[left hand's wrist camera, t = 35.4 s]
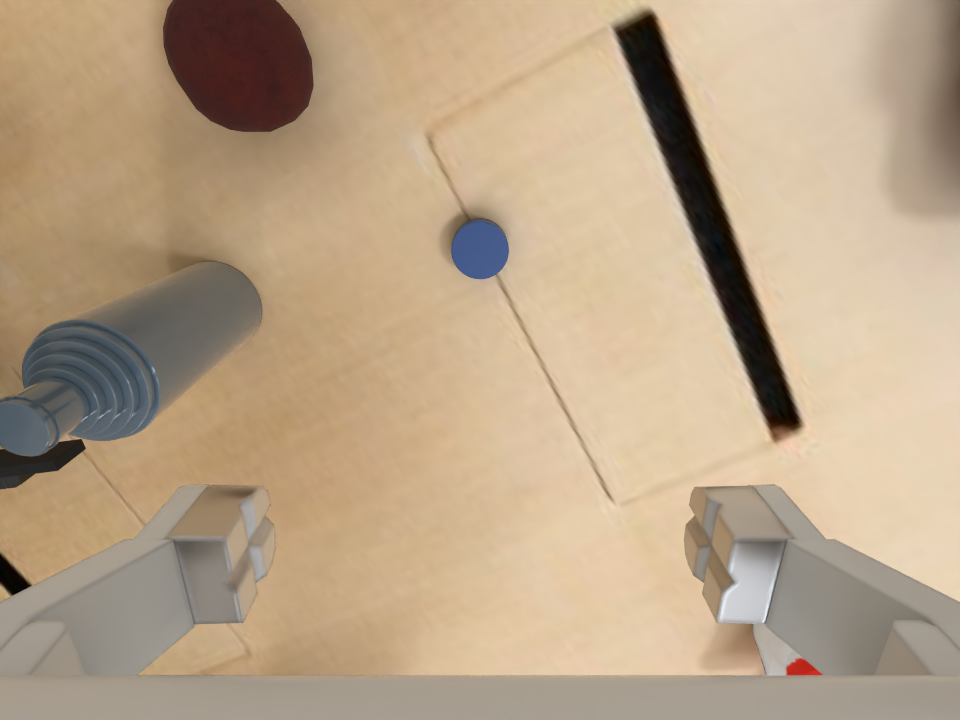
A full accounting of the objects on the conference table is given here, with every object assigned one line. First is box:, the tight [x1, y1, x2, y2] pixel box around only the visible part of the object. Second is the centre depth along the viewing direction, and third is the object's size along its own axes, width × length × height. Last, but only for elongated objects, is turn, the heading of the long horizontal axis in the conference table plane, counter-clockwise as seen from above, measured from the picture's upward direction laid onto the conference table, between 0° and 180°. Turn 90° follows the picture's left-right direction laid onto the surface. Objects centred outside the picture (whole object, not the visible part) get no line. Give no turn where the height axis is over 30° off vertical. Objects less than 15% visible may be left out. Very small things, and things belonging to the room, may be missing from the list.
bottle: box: [0, 261, 262, 457], centre depth 31 cm, size 6×6×18 cm
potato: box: [163, 0, 313, 132], centre depth 31 cm, size 7×8×7 cm
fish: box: [753, 624, 823, 675], centre depth 48 cm, size 11×16×10 cm
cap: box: [452, 219, 509, 279], centre depth 37 cm, size 4×4×2 cm
